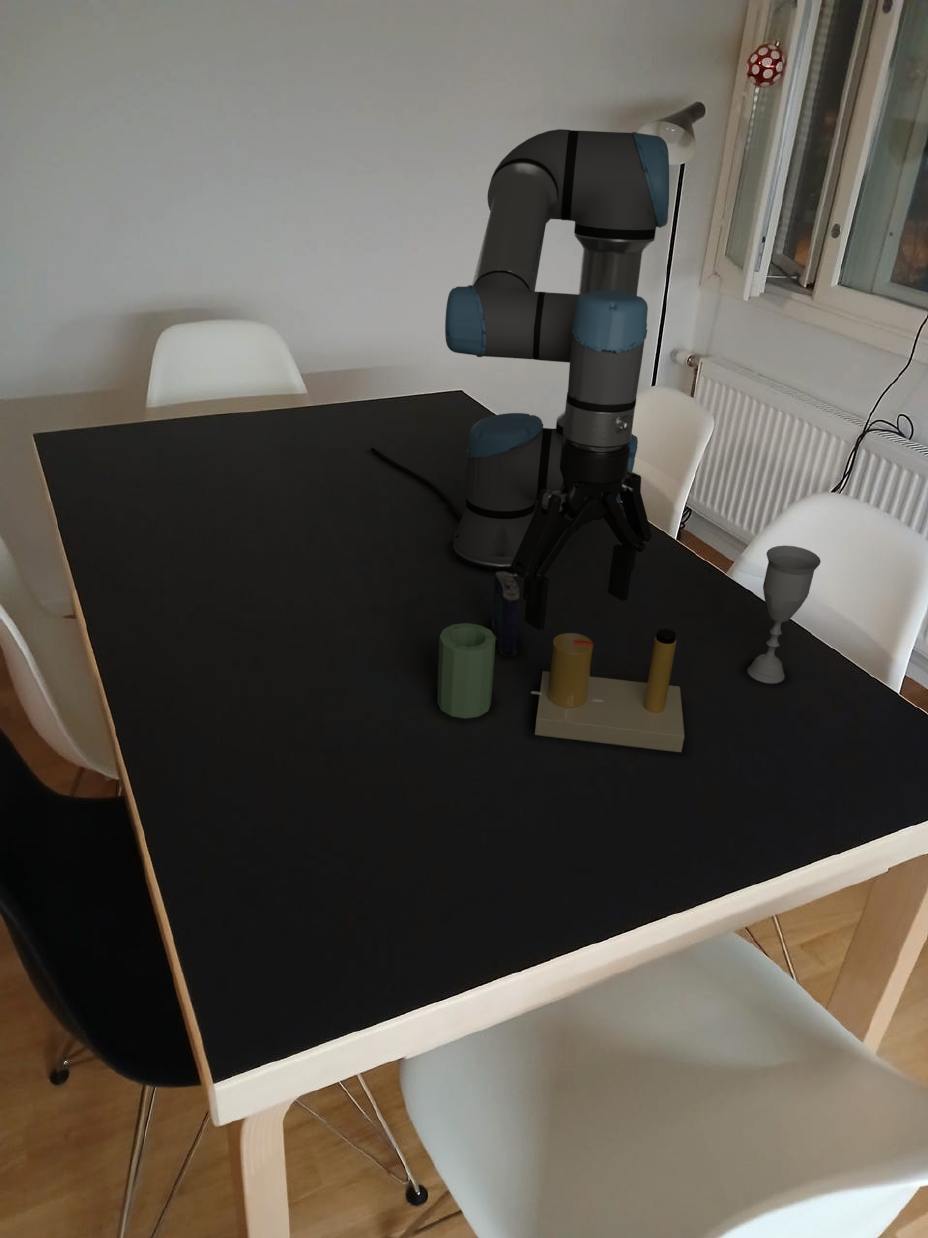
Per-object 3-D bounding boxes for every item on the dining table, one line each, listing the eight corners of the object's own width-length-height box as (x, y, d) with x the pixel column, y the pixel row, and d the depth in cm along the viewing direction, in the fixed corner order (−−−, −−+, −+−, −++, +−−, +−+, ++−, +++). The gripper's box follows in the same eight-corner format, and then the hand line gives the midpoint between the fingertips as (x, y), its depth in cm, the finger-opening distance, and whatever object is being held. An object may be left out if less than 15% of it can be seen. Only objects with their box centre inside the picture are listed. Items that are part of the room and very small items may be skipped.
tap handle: (546, 705, 121) (551, 649, 117) (548, 683, 125) (554, 628, 121) (586, 710, 120) (593, 653, 116) (587, 688, 125) (594, 633, 121)
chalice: (751, 654, 139) (776, 540, 130) (798, 670, 136) (827, 555, 127) (733, 676, 133) (758, 559, 124) (781, 693, 130) (811, 574, 121)
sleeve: (427, 702, 125) (428, 636, 120) (463, 682, 129) (466, 617, 124) (465, 725, 121) (468, 657, 116) (501, 703, 125) (506, 637, 120)
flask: (489, 623, 143) (494, 558, 138) (509, 623, 144) (514, 558, 138) (500, 656, 135) (505, 589, 130) (521, 656, 136) (527, 588, 130)
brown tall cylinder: (642, 721, 121) (656, 637, 115) (642, 709, 124) (655, 627, 118) (663, 723, 121) (678, 640, 115) (662, 712, 123) (677, 629, 117)
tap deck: (525, 733, 120) (527, 716, 118) (533, 685, 129) (534, 669, 128) (681, 752, 118) (684, 735, 116) (677, 702, 127) (680, 685, 126)
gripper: (532, 471, 97) (517, 652, 107) (698, 432, 110) (671, 596, 120) (486, 449, 102) (476, 624, 112) (650, 414, 115) (628, 573, 126)
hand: (577, 610), depth 116 cm, fingers open, 13 cm apart
